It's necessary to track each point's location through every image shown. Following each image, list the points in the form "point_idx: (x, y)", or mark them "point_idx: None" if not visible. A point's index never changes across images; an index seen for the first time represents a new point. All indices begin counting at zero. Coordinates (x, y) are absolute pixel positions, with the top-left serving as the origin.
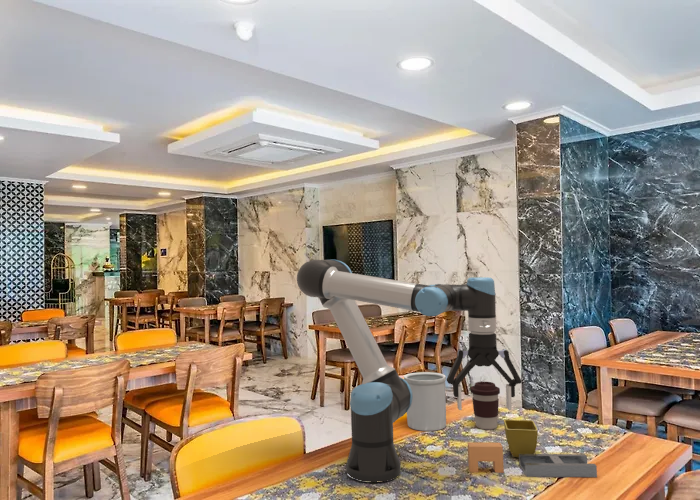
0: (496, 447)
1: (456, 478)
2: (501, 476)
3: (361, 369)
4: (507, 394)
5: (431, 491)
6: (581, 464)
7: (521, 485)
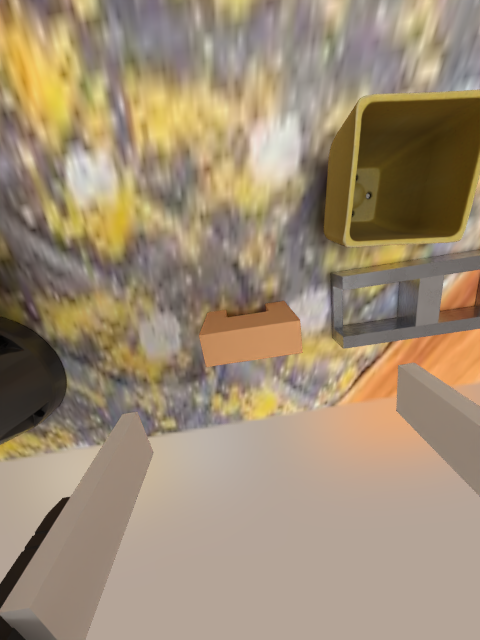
0: (284, 354)
1: (186, 370)
2: None
3: None
4: (476, 466)
5: (148, 427)
6: (477, 322)
7: (313, 378)
